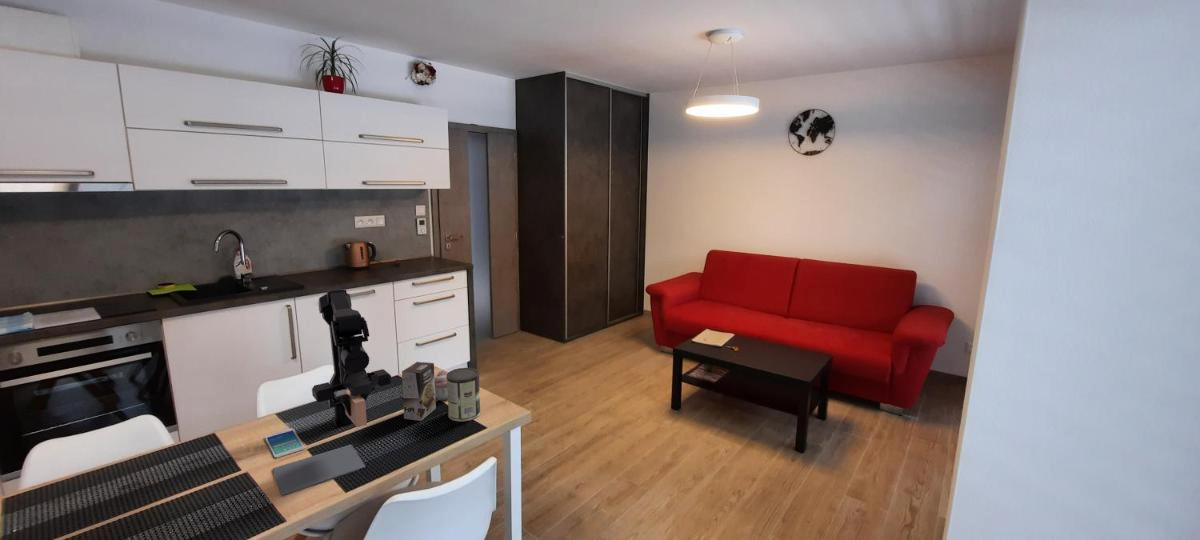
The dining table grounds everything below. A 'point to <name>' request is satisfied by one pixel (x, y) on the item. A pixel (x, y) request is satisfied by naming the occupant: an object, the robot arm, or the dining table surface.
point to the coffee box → (418, 390)
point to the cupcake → (441, 385)
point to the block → (357, 410)
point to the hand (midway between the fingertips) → (355, 413)
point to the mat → (317, 469)
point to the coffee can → (463, 394)
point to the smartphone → (284, 443)
